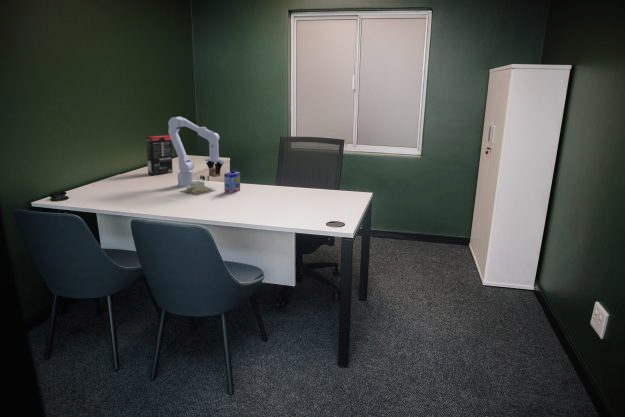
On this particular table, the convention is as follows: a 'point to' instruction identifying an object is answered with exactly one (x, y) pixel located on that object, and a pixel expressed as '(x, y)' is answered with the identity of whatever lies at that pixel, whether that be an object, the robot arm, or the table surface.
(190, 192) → the desk mat
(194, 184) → the sage block
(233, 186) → the ink cartridge box
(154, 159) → the graphics card box
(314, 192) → the table surface
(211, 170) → the walnut cube
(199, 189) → the oak slab
